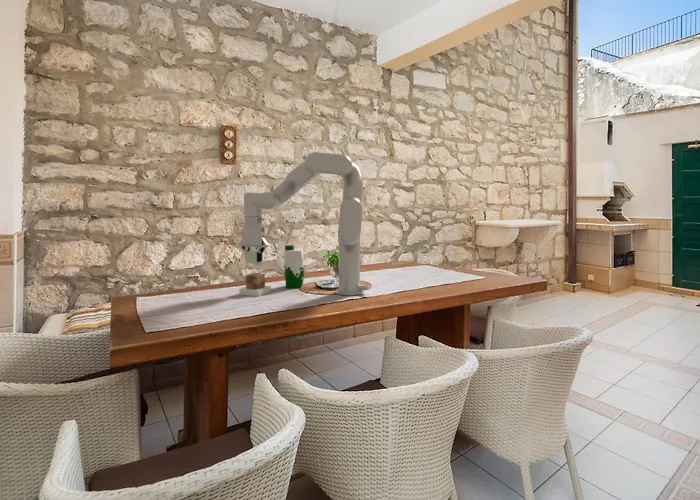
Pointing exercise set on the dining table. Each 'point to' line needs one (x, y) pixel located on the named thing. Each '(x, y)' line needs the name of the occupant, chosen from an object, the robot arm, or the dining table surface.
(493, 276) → the dining table surface
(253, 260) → the sage block
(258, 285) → the walnut block
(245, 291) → the stone base
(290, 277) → the milk carton
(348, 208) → the robot arm
